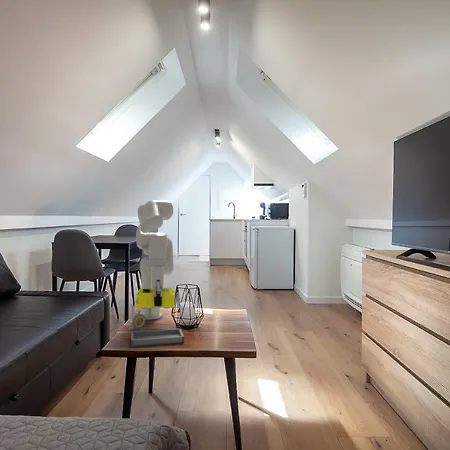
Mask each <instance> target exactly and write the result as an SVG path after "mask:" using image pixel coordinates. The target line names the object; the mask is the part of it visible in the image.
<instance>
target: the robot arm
mask: <svg viewBox="0 0 450 450" xmlns="http://www.w3.org/2000/svg"><path fill="white" fill-rule="evenodd" d="M173 215H174V205H173V204H172V202H171V201H169V200H155V199H154V200H148V201H147V202H145V204H141V205H139V206H138V208H137V217H138V221H139V224H138V226H137V228H136V232H135V233H136V235H135V236H136V237H135V238H136V239H135V240H136V246H137V247H138V248H139V250H142V252H143V254H144V255H147V257H144V258H142V259H141V260H140V263H139V270H140V278H141V288H151V290H153V289H155V297H154V306H162V295H161V290H162V289H163V288H164V280H165V279H164V278H165V276H167V275H171V274H173V272H174V248H173V241H172V239H171V238H170V237H169V236H168V234H167V233H165V232H159V229H160V228H161V227H162V226H163V224H164V221H168V220H170V219H171V218H172V217H173ZM156 288H157V289H156ZM146 291H147V290H146ZM140 309H141V308H140ZM160 309H161V308H147V309H141V310H142V311H141V310H140V311H141V312H140V314H143V315H144V316H145V319H146V320H150V321H151V320H156V319H157V320H158V319H160V318H162V317H163V312H160Z"/></svg>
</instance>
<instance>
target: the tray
mask: <svg viewBox="0 0 450 450" xmlns="http://www.w3.org/2000/svg"><path fill="white" fill-rule="evenodd" d="M130 335H131V336H130V340H131V341H130V342H131V343H130V345H131V347H145V346H155V345H156V346H157V345H158V346H159V345H169V344H172V345H173V344H182V342H184V343H185V336H184V334H183V331H182V329H181V328H170V329H168V328H167V329H166V328H165V329H154V330H153V329H151V330H150V331H136V330H134V331H131V332H130Z"/></svg>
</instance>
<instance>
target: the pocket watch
mask: <svg viewBox="0 0 450 450" xmlns="http://www.w3.org/2000/svg"><path fill="white" fill-rule="evenodd" d="M136 311H137V313H138V314H136V315H135V316H134V317H133V318H132V326H133V327H134V328H135V331H150V330H152V329H151V328H150V327H144V326H145V324H146V319H145V316H144V315H143V314H140V313H141V311H142V310H141V308H136Z"/></svg>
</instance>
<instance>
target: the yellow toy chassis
mask: <svg viewBox="0 0 450 450" xmlns="http://www.w3.org/2000/svg"><path fill="white" fill-rule="evenodd" d="M156 289H157V288H156ZM146 290H147V291H146ZM175 294H176V292H175V290H174V289H173V288H172V287H163V289H162V290H161V295H162V306H154V297H155V289H153V290H151V288H142V287H141V288H140V289H139V290H137V294H136V296H135V308H136V309H147V308H160V309H161V308H162V309H167V310H168V309H171V308H175V298H176V296H175Z"/></svg>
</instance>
